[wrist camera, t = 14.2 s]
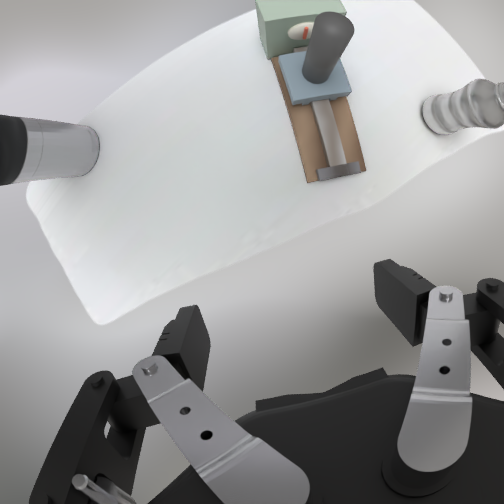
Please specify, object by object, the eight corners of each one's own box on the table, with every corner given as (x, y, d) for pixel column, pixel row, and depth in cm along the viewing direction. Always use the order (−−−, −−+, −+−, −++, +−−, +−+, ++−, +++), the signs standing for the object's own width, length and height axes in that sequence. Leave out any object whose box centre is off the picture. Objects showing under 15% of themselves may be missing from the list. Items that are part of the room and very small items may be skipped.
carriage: (291, 107, 35) (303, 62, 18) (278, 65, 33) (279, 3, 17) (345, 98, 33) (387, 55, 17) (330, 57, 32) (359, -2, 16)
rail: (307, 182, 39) (309, 183, 36) (271, 60, 34) (271, 52, 31) (364, 170, 38) (370, 170, 35) (327, 51, 33) (330, 43, 30)
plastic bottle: (434, 93, 33) (509, 63, 13) (454, 127, 34) (535, 116, 15) (411, 106, 34) (488, 75, 15) (431, 142, 35) (516, 134, 16)
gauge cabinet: (269, 63, 34) (266, 25, 23) (260, 37, 33) (254, -3, 22) (331, 53, 33) (348, 16, 21) (320, 28, 32) (333, -12, 20)
